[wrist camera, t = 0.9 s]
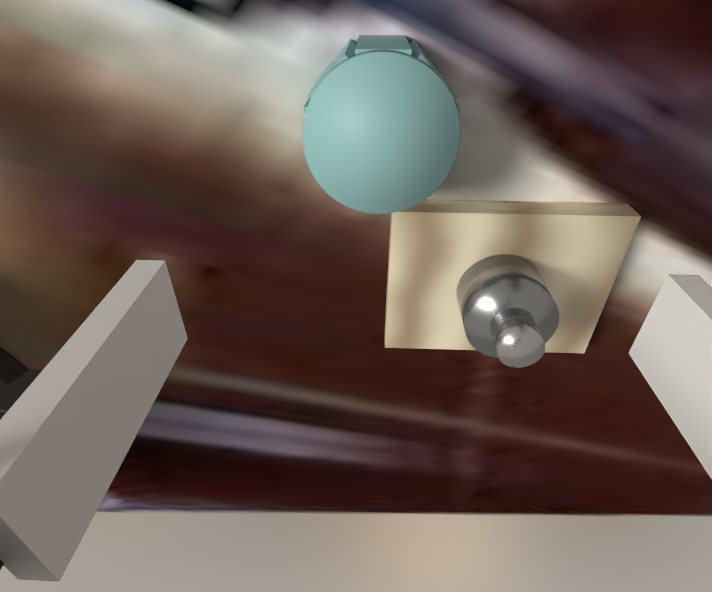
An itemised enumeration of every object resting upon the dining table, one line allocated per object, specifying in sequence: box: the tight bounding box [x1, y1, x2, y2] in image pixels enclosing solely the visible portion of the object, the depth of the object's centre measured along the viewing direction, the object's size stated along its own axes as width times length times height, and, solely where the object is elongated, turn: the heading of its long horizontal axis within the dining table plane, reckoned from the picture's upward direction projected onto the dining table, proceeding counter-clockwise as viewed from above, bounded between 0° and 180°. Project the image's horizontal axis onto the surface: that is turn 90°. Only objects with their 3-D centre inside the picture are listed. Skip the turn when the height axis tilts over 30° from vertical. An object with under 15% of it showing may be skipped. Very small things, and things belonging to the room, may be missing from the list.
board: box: [385, 200, 641, 353], centre depth 33 cm, size 16×12×2 cm
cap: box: [302, 35, 460, 214], centre depth 24 cm, size 8×8×7 cm
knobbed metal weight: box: [456, 254, 560, 367], centre depth 30 cm, size 6×6×6 cm
